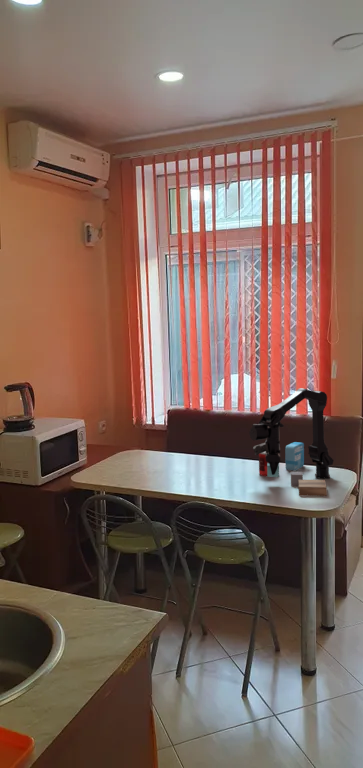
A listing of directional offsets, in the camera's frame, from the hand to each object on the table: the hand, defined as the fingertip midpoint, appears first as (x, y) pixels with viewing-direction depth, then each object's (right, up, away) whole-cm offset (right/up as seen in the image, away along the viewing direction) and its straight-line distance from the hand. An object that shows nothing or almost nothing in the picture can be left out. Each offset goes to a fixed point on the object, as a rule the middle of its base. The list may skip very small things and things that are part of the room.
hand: (273, 472), depth 254 cm
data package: (+15, -2, +29) cm, 33 cm away
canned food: (0, -4, +20) cm, 20 cm away
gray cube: (+11, -5, +2) cm, 12 cm away
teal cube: (0, -1, 0) cm, 1 cm away
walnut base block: (+15, -7, -10) cm, 19 cm away
